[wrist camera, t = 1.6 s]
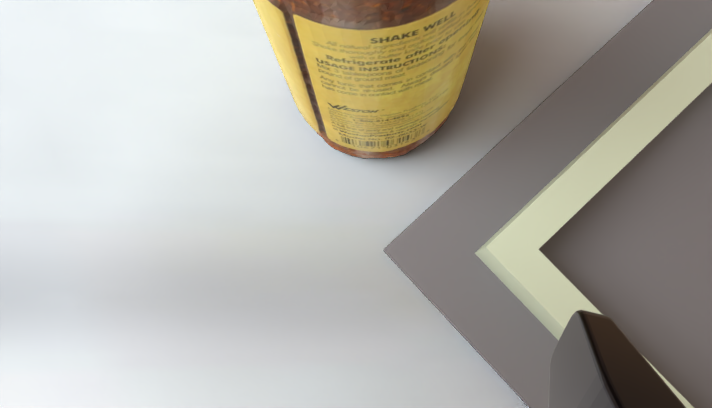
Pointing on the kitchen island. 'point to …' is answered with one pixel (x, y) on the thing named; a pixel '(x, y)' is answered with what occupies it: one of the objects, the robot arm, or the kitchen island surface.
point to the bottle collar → (588, 195)
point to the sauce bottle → (373, 66)
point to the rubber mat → (589, 220)
